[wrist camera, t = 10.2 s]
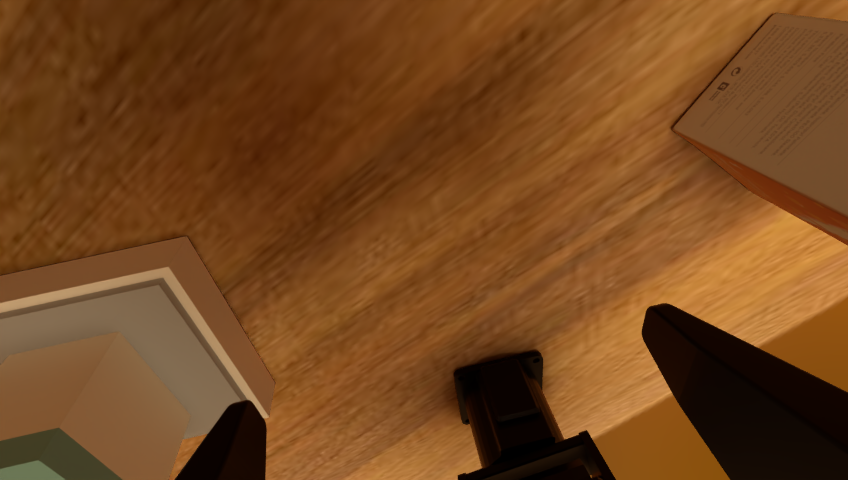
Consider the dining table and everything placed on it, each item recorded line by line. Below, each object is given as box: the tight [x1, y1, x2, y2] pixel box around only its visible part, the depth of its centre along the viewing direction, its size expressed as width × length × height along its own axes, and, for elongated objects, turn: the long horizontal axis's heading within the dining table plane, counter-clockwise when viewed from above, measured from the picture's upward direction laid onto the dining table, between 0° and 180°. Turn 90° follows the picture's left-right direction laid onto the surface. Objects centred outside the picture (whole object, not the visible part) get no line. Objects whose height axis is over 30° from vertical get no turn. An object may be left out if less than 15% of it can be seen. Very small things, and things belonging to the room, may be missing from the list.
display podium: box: [0, 236, 275, 439], centre depth 22 cm, size 12×12×3 cm
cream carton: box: [0, 331, 191, 480], centre depth 18 cm, size 5×7×6 cm
